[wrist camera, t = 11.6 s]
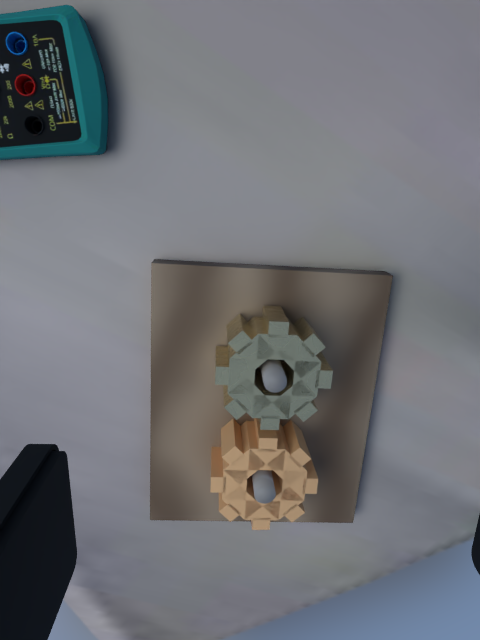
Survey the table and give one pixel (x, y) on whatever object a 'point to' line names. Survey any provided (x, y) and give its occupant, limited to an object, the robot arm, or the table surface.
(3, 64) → the digital multimeter
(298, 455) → the tan gear
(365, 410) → the gear board
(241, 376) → the green gear
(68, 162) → the table surface
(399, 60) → the table surface
